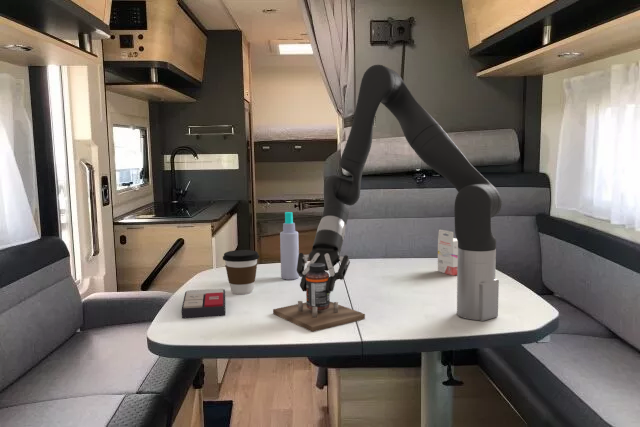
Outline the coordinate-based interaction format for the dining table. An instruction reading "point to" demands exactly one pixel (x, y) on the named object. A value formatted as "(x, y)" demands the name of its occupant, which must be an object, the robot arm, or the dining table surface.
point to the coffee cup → (241, 270)
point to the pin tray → (318, 315)
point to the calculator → (203, 303)
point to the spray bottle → (289, 248)
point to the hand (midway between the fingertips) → (315, 290)
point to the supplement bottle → (317, 287)
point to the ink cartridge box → (447, 253)
